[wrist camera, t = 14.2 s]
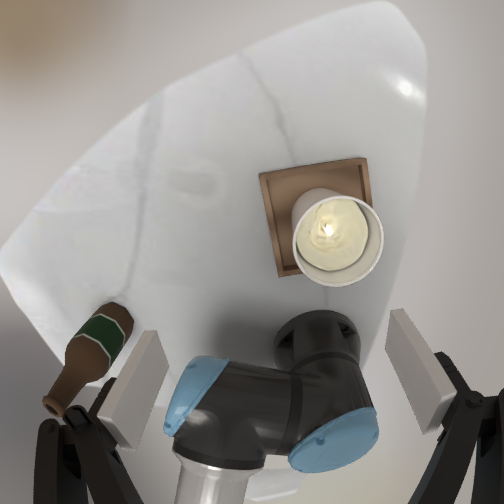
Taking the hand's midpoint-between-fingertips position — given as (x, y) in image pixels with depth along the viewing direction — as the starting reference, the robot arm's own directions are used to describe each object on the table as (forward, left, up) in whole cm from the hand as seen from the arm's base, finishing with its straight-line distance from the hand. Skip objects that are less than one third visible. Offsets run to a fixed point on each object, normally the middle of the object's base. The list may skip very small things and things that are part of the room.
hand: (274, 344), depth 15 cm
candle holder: (-1, -7, -27) cm, 28 cm away
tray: (-1, -7, -28) cm, 29 cm away
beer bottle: (-13, +31, -28) cm, 44 cm away
